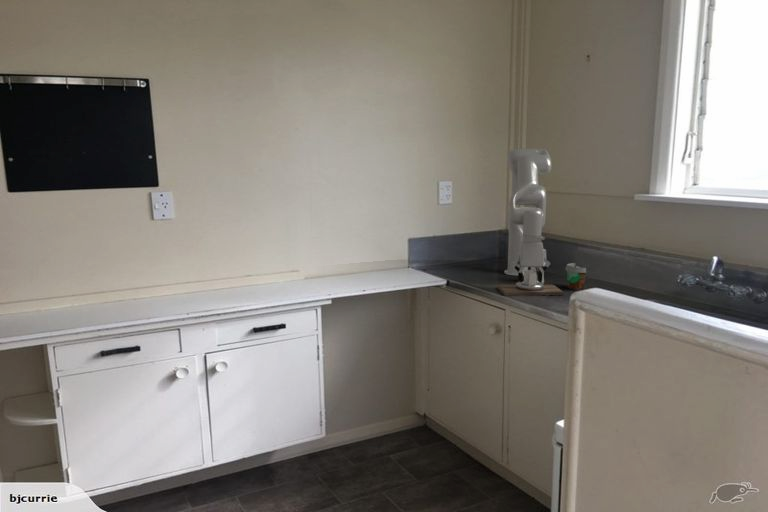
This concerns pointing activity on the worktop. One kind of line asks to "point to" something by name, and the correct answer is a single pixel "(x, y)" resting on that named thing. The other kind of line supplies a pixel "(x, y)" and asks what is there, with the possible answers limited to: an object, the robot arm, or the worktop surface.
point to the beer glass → (536, 270)
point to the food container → (575, 276)
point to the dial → (530, 281)
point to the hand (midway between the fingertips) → (530, 281)
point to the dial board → (514, 291)
